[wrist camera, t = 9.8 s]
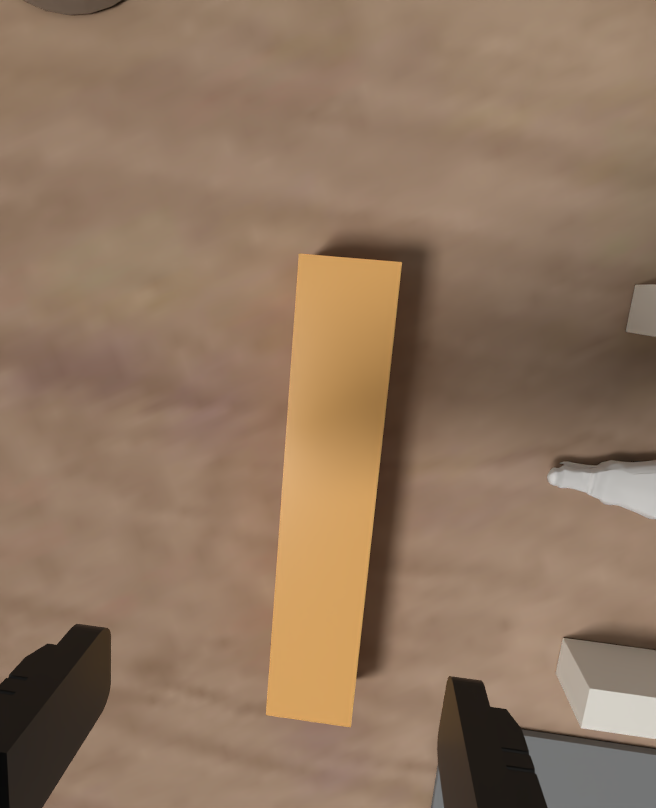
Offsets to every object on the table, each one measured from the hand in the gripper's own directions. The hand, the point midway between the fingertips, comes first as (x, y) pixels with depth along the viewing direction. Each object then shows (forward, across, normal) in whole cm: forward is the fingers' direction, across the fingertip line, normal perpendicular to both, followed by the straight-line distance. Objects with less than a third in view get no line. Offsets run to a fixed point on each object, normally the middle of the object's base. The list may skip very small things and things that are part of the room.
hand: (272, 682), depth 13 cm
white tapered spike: (+14, -17, -1) cm, 23 cm away
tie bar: (+14, 0, 0) cm, 14 cm away
